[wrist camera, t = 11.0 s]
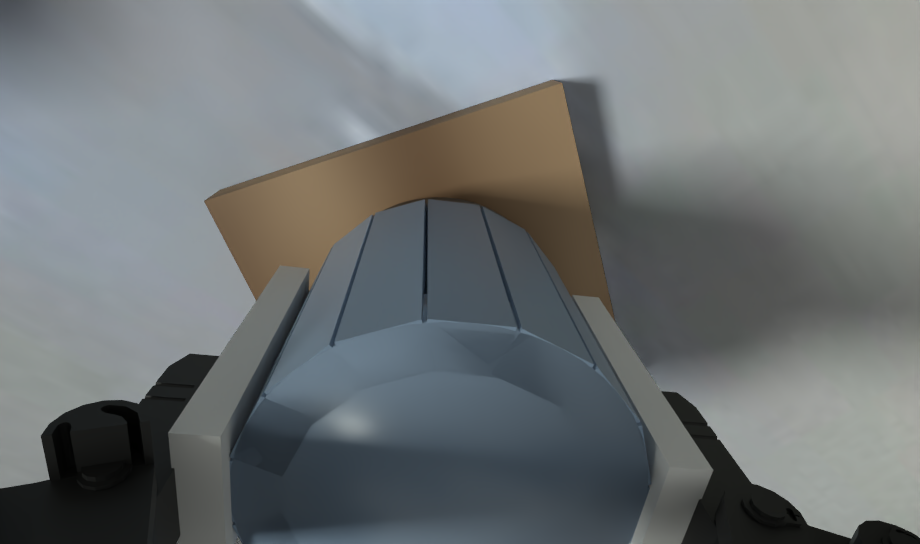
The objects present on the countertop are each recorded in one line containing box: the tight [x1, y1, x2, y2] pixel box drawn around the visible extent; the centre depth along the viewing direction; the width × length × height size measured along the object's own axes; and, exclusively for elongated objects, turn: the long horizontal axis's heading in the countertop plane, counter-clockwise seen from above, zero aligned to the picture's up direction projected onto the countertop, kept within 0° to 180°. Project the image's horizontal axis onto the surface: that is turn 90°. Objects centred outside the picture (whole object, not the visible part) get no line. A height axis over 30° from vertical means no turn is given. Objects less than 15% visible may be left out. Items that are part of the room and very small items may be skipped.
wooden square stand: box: [204, 80, 615, 321], centre depth 14 cm, size 10×10×7 cm
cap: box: [229, 199, 651, 544], centre depth 12 cm, size 7×7×6 cm
